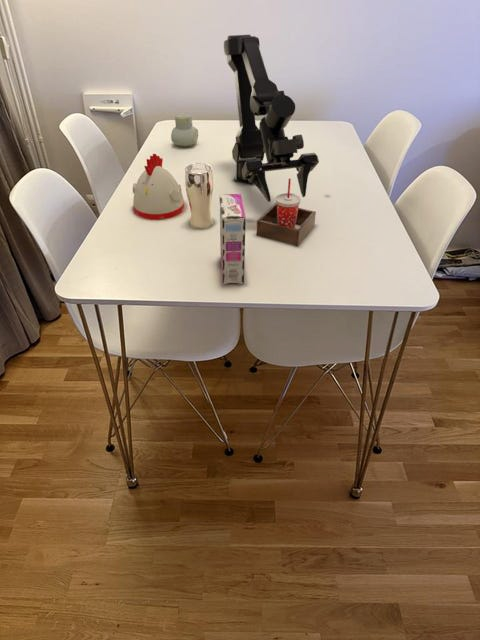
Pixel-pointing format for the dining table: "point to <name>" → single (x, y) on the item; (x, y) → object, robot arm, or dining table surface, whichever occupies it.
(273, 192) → the dining table surface
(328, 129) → the dining table surface
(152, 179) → the kitchen timer
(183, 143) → the air freshener
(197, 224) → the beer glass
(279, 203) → the beverage cup
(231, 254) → the candy bar box
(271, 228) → the crate
